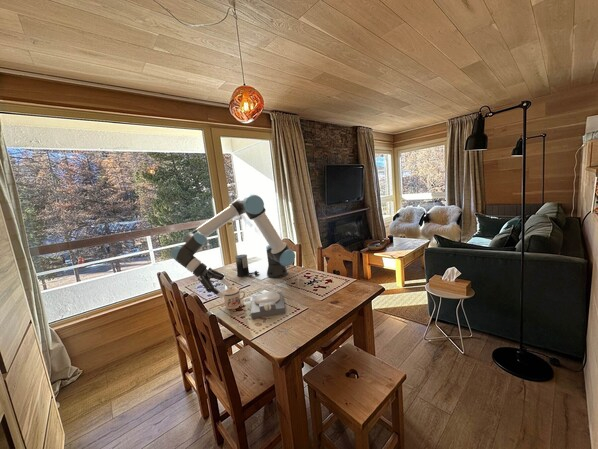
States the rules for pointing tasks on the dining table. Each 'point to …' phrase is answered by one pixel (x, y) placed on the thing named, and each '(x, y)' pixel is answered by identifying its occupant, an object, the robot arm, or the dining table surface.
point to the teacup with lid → (232, 297)
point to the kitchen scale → (267, 304)
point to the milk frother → (243, 266)
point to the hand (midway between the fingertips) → (227, 291)
